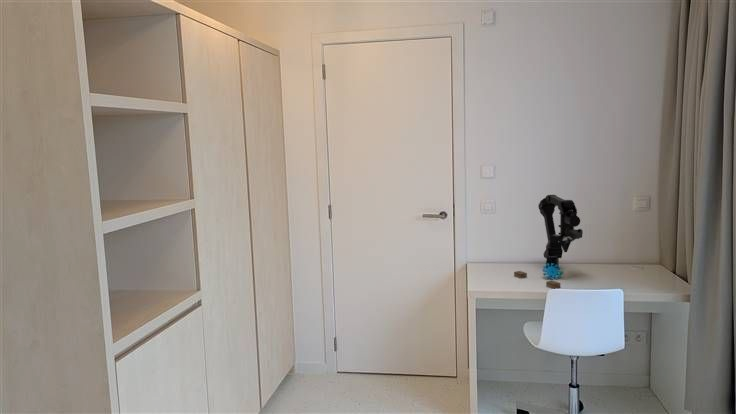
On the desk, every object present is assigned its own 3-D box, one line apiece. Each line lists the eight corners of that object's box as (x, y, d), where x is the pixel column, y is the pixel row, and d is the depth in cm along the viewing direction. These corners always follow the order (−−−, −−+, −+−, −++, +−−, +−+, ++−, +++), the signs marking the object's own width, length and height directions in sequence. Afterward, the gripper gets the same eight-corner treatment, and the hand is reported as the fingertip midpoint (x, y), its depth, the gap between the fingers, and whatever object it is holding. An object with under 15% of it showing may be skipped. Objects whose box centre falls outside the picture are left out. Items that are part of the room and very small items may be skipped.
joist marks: (519, 275, 299) (519, 270, 299) (560, 287, 274) (560, 282, 273) (514, 276, 298) (514, 271, 297) (554, 289, 272) (554, 284, 272)
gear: (542, 277, 288) (543, 261, 294) (540, 282, 293) (541, 266, 299) (564, 280, 286) (564, 264, 292) (561, 285, 291) (562, 269, 296)
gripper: (565, 227, 280) (564, 257, 282) (590, 223, 288) (590, 252, 290) (548, 224, 290) (548, 253, 292) (574, 220, 298) (573, 248, 300)
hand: (565, 252), depth 293 cm, fingers closed
